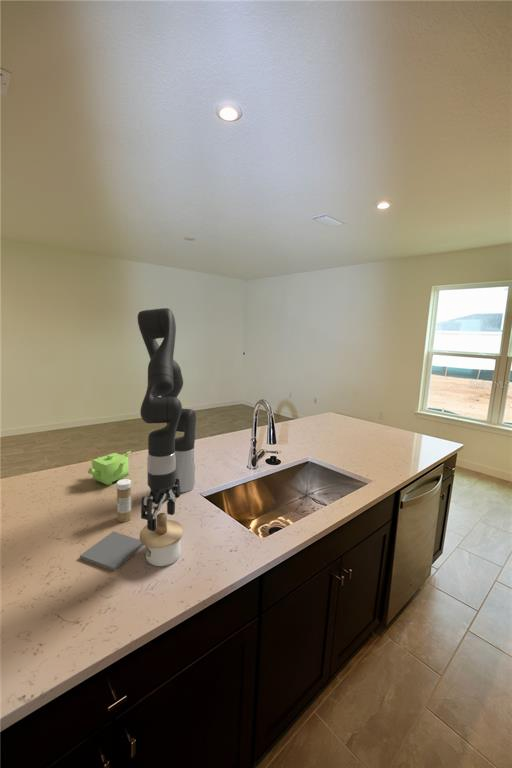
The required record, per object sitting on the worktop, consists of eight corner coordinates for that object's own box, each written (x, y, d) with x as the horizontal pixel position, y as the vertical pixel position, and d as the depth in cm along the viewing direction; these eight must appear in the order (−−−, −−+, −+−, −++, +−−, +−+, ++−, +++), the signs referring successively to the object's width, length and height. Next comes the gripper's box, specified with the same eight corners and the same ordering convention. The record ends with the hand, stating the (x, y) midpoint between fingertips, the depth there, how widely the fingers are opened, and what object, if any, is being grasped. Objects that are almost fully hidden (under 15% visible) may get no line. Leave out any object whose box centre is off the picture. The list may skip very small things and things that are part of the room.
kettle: (131, 471, 144) (131, 448, 142) (128, 486, 130) (128, 460, 129) (95, 474, 140) (94, 449, 138) (88, 489, 126) (87, 462, 124)
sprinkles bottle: (119, 515, 110) (118, 478, 108) (133, 514, 110) (132, 478, 108) (115, 522, 105) (114, 484, 103) (129, 522, 106) (128, 484, 104)
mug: (186, 558, 90) (187, 539, 89) (153, 573, 84) (153, 552, 83) (169, 536, 99) (169, 519, 99) (138, 548, 93) (137, 529, 93)
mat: (113, 534, 99) (113, 531, 99) (144, 544, 95) (144, 541, 95) (80, 558, 88) (79, 555, 88) (113, 571, 84) (113, 568, 84)
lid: (157, 518, 99) (157, 501, 98) (191, 527, 95) (191, 509, 94) (130, 541, 87) (129, 521, 87) (166, 552, 83) (166, 532, 83)
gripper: (166, 456, 96) (166, 506, 98) (132, 475, 83) (133, 532, 85) (187, 461, 93) (187, 512, 96) (156, 481, 80) (156, 539, 82)
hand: (161, 521), depth 90 cm, fingers open, 8 cm apart
